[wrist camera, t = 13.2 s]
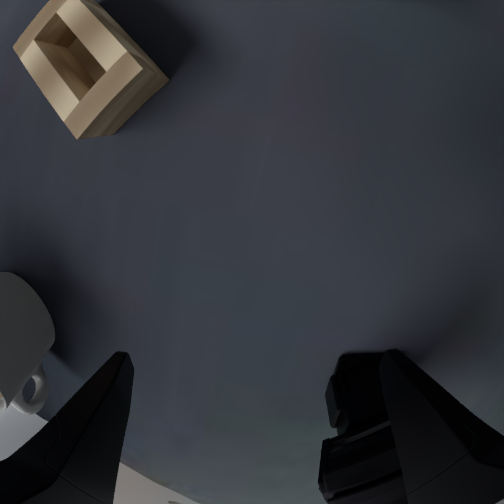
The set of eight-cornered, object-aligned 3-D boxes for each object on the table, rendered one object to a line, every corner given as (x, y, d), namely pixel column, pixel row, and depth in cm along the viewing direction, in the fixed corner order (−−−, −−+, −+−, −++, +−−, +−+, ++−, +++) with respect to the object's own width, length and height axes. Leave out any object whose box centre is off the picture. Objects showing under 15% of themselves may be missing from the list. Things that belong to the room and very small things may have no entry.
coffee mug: (-18, 273, 23) (-74, 319, 14) (31, 268, 22) (-38, 328, 13) (28, 366, 28) (-9, 419, 19) (82, 376, 27) (44, 443, 18)
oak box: (170, 80, 16) (142, 68, 12) (113, 134, 17) (77, 139, 13) (97, 2, 13) (64, -16, 9) (50, 53, 15) (12, 47, 11)
